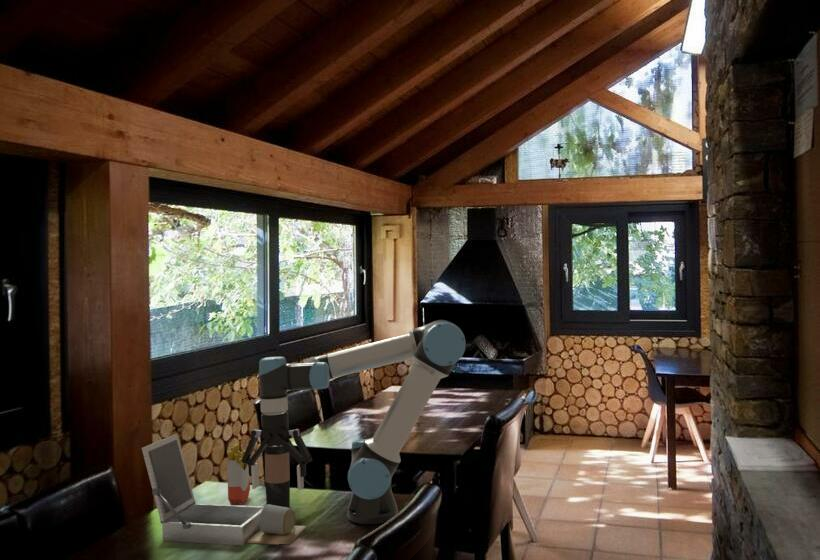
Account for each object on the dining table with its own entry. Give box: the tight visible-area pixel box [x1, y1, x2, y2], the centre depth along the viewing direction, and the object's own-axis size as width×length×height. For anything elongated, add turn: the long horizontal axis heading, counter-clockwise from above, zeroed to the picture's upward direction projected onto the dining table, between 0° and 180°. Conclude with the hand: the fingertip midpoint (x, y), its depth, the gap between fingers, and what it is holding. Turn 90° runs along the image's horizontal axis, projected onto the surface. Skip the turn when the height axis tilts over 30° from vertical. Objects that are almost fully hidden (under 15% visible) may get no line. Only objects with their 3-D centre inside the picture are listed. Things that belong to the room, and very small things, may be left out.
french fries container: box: [226, 443, 251, 505], centre depth 226 cm, size 5×11×18 cm, turn 178°
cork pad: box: [247, 525, 307, 545], centre depth 194 cm, size 12×13×1 cm
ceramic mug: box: [259, 503, 296, 535], centre depth 196 cm, size 11×8×8 cm
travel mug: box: [264, 445, 291, 508], centre depth 219 cm, size 8×8×20 cm
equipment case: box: [141, 433, 265, 546], centre depth 198 cm, size 30×18×26 cm, turn 78°
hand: (278, 488), depth 194 cm, fingers open, 13 cm apart
